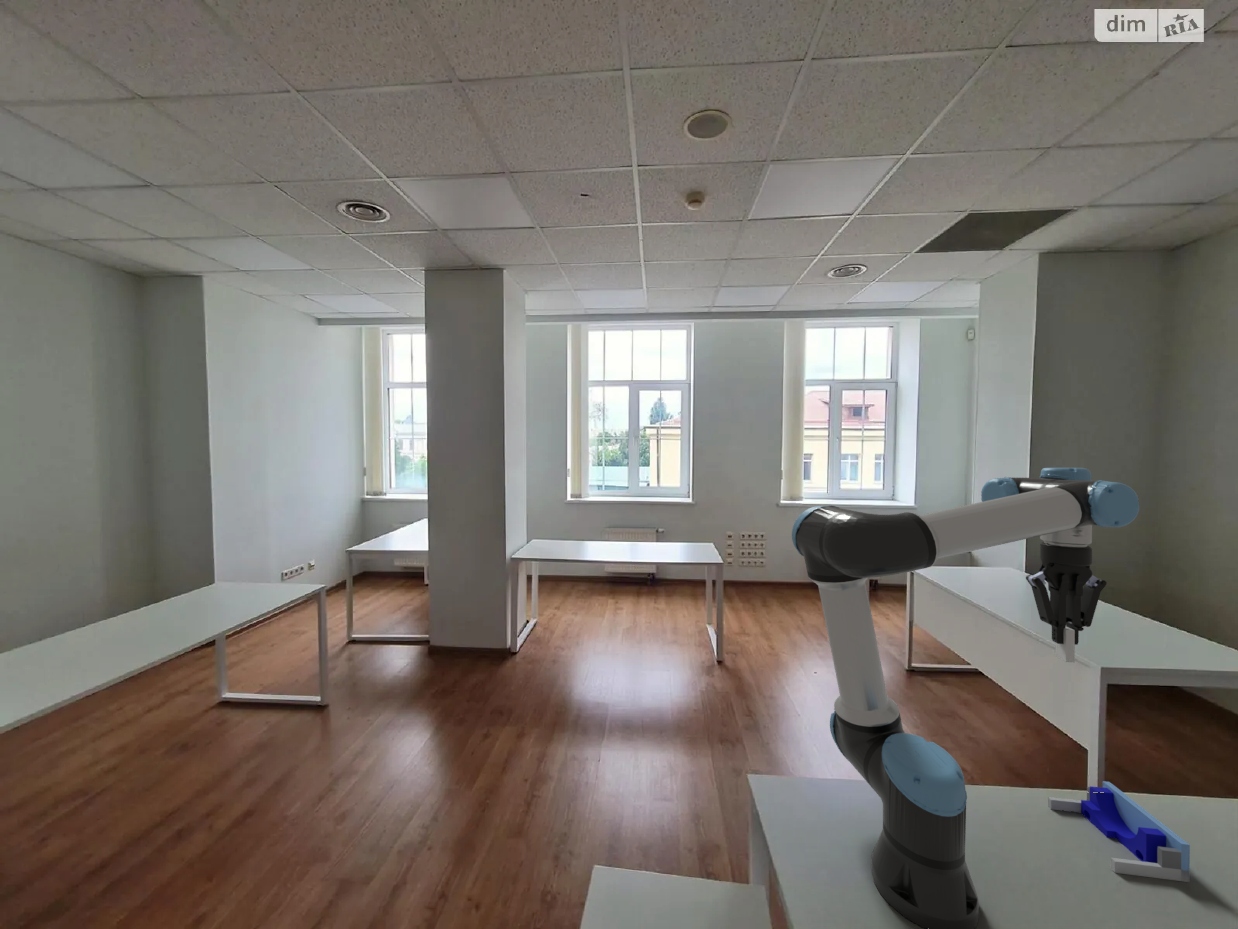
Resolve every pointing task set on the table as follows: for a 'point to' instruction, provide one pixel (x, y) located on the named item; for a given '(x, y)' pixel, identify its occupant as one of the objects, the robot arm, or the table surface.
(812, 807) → the table surface
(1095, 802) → the blue arched bracket piece
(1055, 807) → the blue wall bracket
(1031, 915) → the table surface
